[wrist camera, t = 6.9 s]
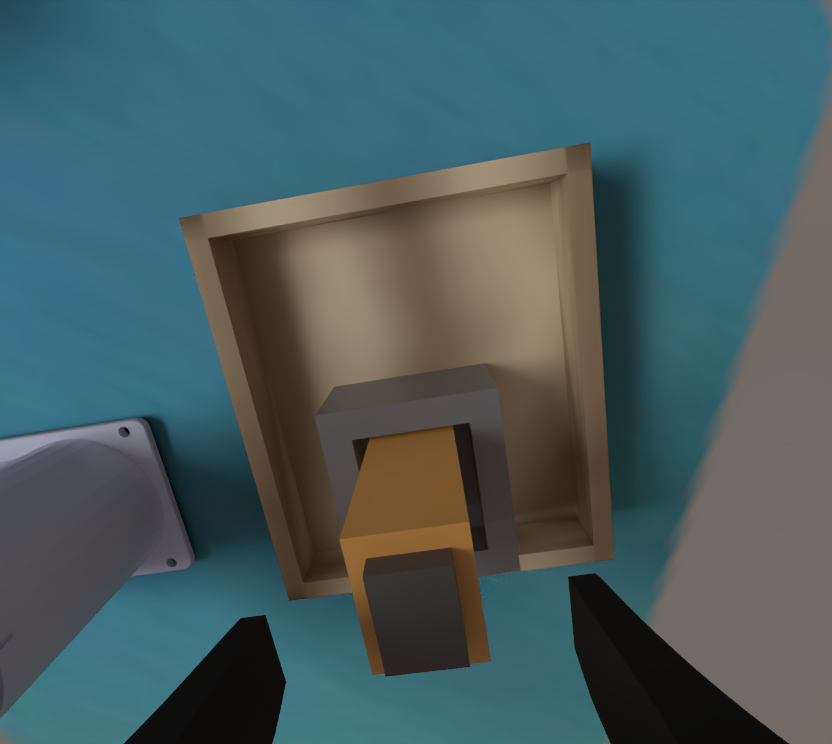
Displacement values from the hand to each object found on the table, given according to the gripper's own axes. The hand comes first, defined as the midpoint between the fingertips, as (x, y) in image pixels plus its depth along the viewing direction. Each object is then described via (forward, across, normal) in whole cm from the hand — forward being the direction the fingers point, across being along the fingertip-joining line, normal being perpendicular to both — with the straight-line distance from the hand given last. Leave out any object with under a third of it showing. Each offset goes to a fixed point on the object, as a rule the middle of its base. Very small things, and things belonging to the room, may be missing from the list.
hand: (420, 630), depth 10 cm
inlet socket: (+9, 0, 0) cm, 9 cm away
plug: (+7, 0, 0) cm, 7 cm away
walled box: (+10, 0, -3) cm, 11 cm away
